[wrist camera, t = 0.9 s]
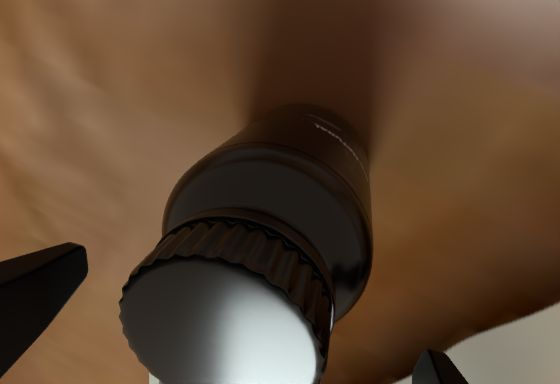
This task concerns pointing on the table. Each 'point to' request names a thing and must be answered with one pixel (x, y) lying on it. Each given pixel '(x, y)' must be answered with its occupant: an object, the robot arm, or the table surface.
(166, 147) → the table surface
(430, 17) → the table surface
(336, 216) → the supplement bottle
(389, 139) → the table surface
